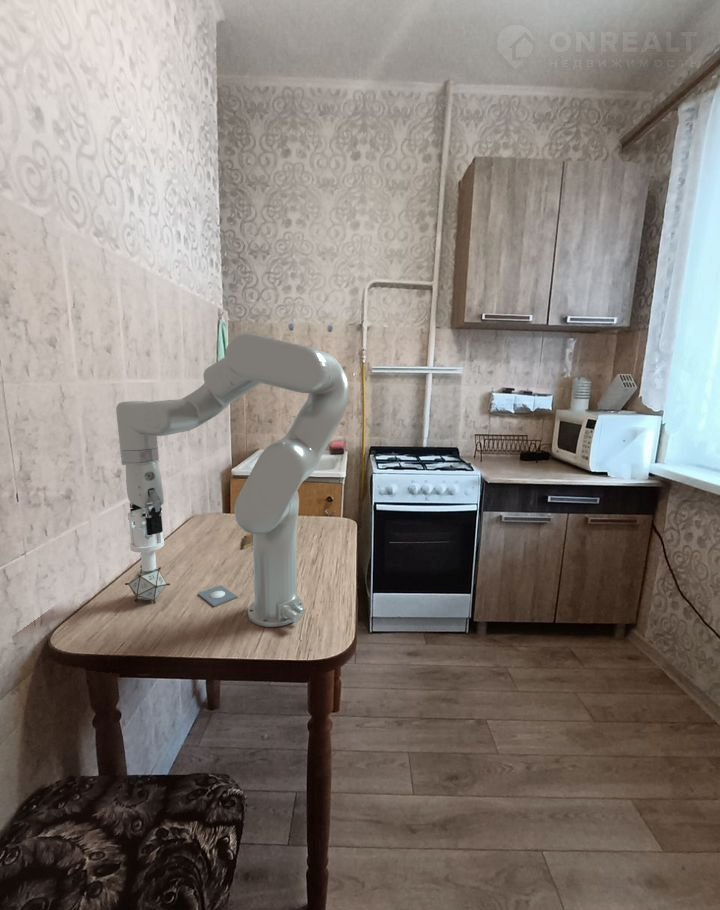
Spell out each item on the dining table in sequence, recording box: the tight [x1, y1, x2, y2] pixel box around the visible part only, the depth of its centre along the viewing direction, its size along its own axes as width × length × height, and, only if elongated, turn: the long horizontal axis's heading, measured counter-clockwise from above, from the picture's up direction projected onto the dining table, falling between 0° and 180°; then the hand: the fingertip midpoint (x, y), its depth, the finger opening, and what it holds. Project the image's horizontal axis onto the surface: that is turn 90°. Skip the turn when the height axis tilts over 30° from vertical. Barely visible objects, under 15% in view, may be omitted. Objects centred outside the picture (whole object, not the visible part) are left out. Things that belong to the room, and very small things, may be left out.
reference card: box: [197, 584, 238, 608], centre depth 101 cm, size 8×6×1 cm
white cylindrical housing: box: [127, 508, 165, 571], centre depth 97 cm, size 7×7×15 cm
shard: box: [242, 533, 253, 550], centre depth 136 cm, size 11×8×2 cm
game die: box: [124, 564, 171, 604], centre depth 98 cm, size 9×8×10 cm
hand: (146, 528), depth 96 cm, fingers open, 9 cm apart
